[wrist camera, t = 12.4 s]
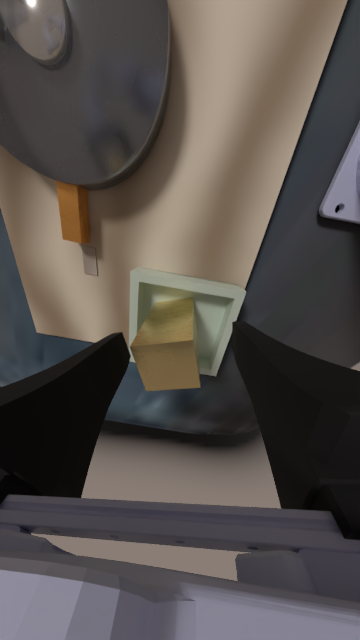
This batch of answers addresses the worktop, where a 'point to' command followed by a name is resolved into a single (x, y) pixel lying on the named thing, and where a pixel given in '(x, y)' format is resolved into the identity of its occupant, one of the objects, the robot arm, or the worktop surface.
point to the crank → (83, 92)
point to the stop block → (168, 347)
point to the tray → (209, 303)
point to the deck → (181, 167)
